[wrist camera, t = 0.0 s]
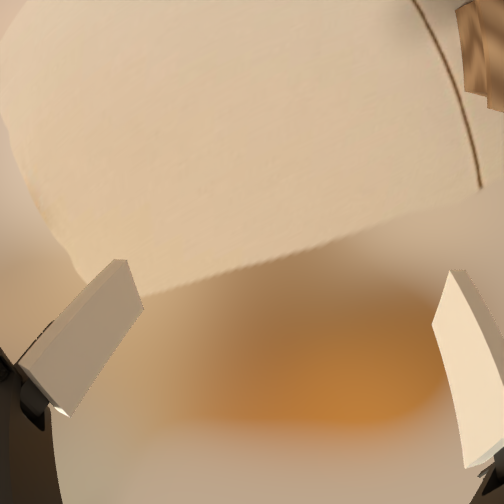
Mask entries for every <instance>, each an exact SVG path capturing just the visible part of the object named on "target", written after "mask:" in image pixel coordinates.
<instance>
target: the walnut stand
mask: <svg viewBox="0 0 504 504" xmlns="http://www.w3.org/2000/svg"><path fill="white" fill-rule="evenodd" d="M455 12H456V17H457V23H458V29H459V35H460V42H461V50H462V59H463V70H464V87H465V91H466V92H470V93H474V94H478V95H481V96H485V97H487V108H489V109H493V110H496V111H500V112H503V113H504V0H474V1H472V2H470V3H468V4H466V5H465V6H463V7H461V8H459V9H457V10H455Z"/></svg>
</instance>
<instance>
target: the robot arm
mask: <svg viewBox="0 0 504 504" xmlns="http://www.w3.org/2000/svg"><path fill="white" fill-rule="evenodd" d="M143 310H144V307H143V305H142V302H141V299H140V297H139V294H138V291H137V288H136V286H135V283H134V280H133V277H132V274H131V271H130V268H129V265H128V262H127V260H116V259H114V260H113V261H112V262H111V263H110V264H109V265H108V266H107V267H106V268H105V269H104V270H103V271H102V272H100V273H99V274H98V275H97V276H96V277H95V278H94V279H93V280H92V281H91V282H90V283H89V284H88V285H87V287H86V288H85V289H84V290H83V291H82V292H81V293H80V294H79V295H78V296H77V297H76V298H75V299H74V300H73V301H72V302H71V303H70V304H69V305H68V306H67V307H66V308H65V309H64V311H63V312H62V313H61V314H60V315H59V316H58V317H57V318H56V319H55V320H54V321H52V322H51V323H50V324H49V325H48V326H47V327H46V328H45V330H44V331H43V333H41V334H40V335H39V336H38V337H37V340H35V341H34V342H33V343H32V344H31V346H30V347H29V348H28V349H27V350H26V352H25V353H24V354H23V355H22V356H21V357H20V359H19V360H18V361H17V362H16V363H15V364H14V365H13V364H12V363H11V362H10V360H9V359H8V357H7V356H6V355H5V353H4V352H3V350H2V349H1V348H0V504H63V503H62V499H61V494H60V489H59V484H58V478H57V471H56V465H55V457H54V448H53V439H52V426H51V412H50V408H49V407H48V406H47V405H48V404H49V402H50V403H51V404H52V405H53V406H54V407H55V408H56V409H57V410H58V411H59V412H61V413H63V414H64V415H66V416H68V417H70V418H71V416H72V415H73V413H74V412H75V410H76V408H77V407H78V405H79V404H80V402H81V401H82V399H83V397H84V396H85V394H86V393H87V391H88V390H89V388H90V387H91V385H92V383H93V382H94V381H95V379H96V378H97V376H98V375H99V373H100V372H101V370H102V368H103V367H104V365H105V364H106V363H107V361H108V360H109V358H110V356H111V355H112V353H113V352H114V351H115V349H116V348H117V346H118V345H119V344H120V342H121V341H122V339H123V338H124V337H125V335H126V333H127V332H128V331H129V329H130V328H131V326H132V325H133V324H134V322H135V321H136V320H137V318H138V317H139V315H140V314H141V313H142V311H143ZM432 327H433V330H434V333H435V336H436V339H437V342H438V346H439V349H440V352H441V355H442V359H443V362H444V366H445V369H446V373H447V377H448V381H449V384H450V389H451V393H452V397H453V401H454V406H455V411H456V416H457V421H458V426H459V432H460V438H461V444H462V451H463V459H464V467H465V468H469V467H473V466H476V465H479V464H483V463H485V462H486V461H487V460H488V459H490V458H491V457H492V456H494V460H495V462H494V463H493V464H491V465H490V466H488V467H487V468H486V469H484V470H483V471H481V473H480V474H479V476H478V477H479V478H480V477H481V476H483V475H484V474H486V473H487V474H486V476H485V478H483V482H482V484H481V485H480V487H479V489H478V491H477V492H476V494H475V496H474V497H473V499H472V501H471V502H470V504H504V338H503V336H502V334H501V332H500V330H499V328H498V326H497V324H496V322H495V320H494V318H493V316H492V314H491V313H490V311H489V309H488V307H487V305H486V303H485V302H484V300H483V298H482V297H481V295H480V293H479V291H478V290H477V288H476V286H475V285H474V283H473V281H472V280H471V278H470V277H469V275H468V274H467V272H466V270H449V274H448V277H447V281H446V284H445V287H444V291H443V294H442V297H441V300H440V303H439V306H438V309H437V312H436V314H435V317H434V320H433V322H432Z"/></svg>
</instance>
